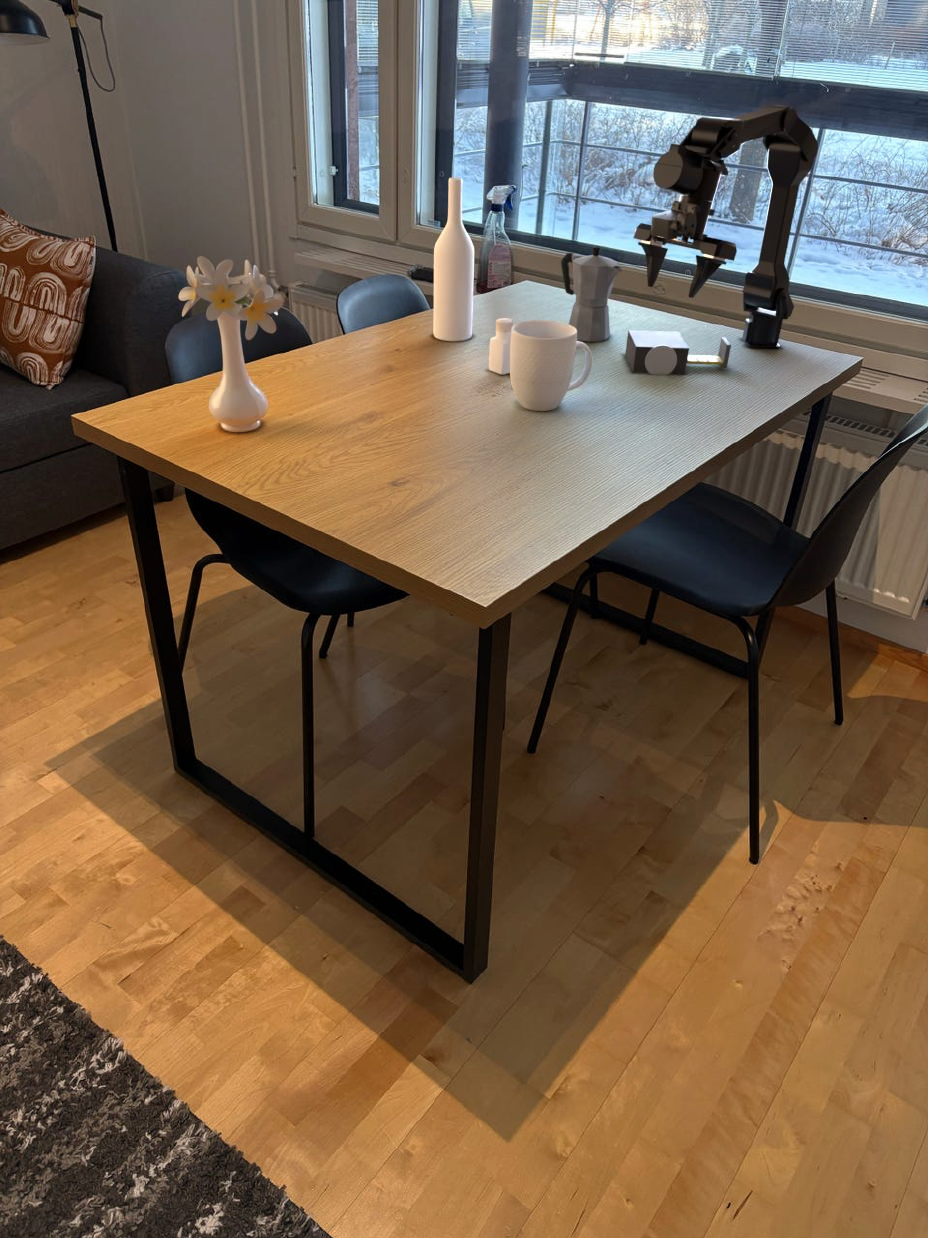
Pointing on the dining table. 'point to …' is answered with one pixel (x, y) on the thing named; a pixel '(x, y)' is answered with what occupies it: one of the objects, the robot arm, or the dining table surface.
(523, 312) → the dining table surface
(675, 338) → the tape case
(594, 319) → the coffeepot
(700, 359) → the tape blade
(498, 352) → the pepper shaker
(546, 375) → the mug
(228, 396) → the flower vase
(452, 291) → the bottle
